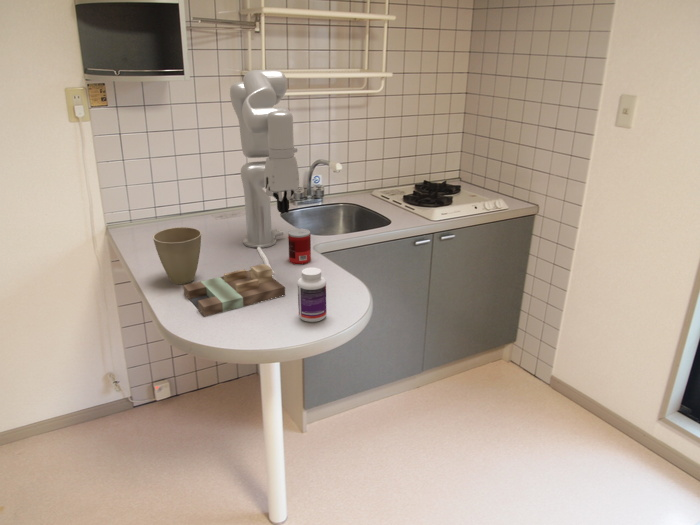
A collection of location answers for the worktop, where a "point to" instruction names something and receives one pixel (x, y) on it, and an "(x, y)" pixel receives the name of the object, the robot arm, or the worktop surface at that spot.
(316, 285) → the pill bottle
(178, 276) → the plant pot
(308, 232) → the canned food
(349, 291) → the worktop surface
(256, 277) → the block
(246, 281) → the wooden block puzzle
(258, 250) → the white knobbed rod
